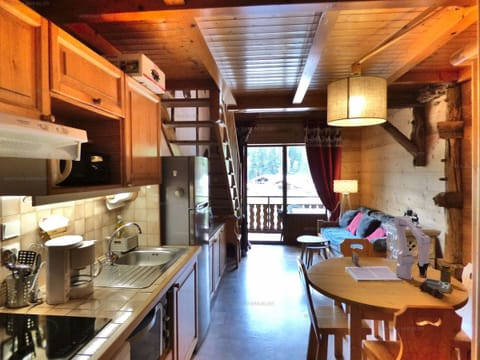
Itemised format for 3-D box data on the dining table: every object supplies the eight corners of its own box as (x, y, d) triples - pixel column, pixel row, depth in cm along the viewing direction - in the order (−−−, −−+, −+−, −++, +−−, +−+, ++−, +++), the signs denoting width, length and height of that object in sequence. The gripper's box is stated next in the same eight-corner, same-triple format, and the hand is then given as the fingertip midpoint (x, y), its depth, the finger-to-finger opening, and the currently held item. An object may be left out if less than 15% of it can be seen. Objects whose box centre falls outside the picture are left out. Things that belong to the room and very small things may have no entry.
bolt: (440, 302, 183) (421, 291, 198) (447, 297, 184) (427, 287, 198) (437, 294, 182) (417, 284, 197) (443, 289, 183) (423, 280, 198)
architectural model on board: (351, 261, 260) (351, 250, 260) (354, 261, 260) (354, 250, 260) (354, 265, 249) (354, 253, 249) (358, 265, 249) (358, 253, 248)
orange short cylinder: (418, 277, 201) (418, 267, 201) (419, 275, 205) (419, 266, 205) (426, 278, 199) (426, 269, 199) (427, 276, 202) (427, 267, 202)
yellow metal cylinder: (453, 283, 209) (453, 266, 208) (447, 286, 204) (448, 268, 204) (441, 280, 215) (442, 263, 214) (435, 282, 210) (436, 265, 210)
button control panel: (422, 287, 201) (422, 281, 201) (425, 282, 211) (425, 276, 210) (447, 292, 192) (447, 286, 192) (450, 287, 201) (450, 281, 201)
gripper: (428, 257, 193) (427, 278, 194) (432, 252, 204) (432, 273, 204) (415, 255, 198) (415, 276, 198) (420, 251, 209) (420, 270, 209)
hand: (423, 274), depth 202 cm, fingers closed on orange short cylinder, 4 cm apart
